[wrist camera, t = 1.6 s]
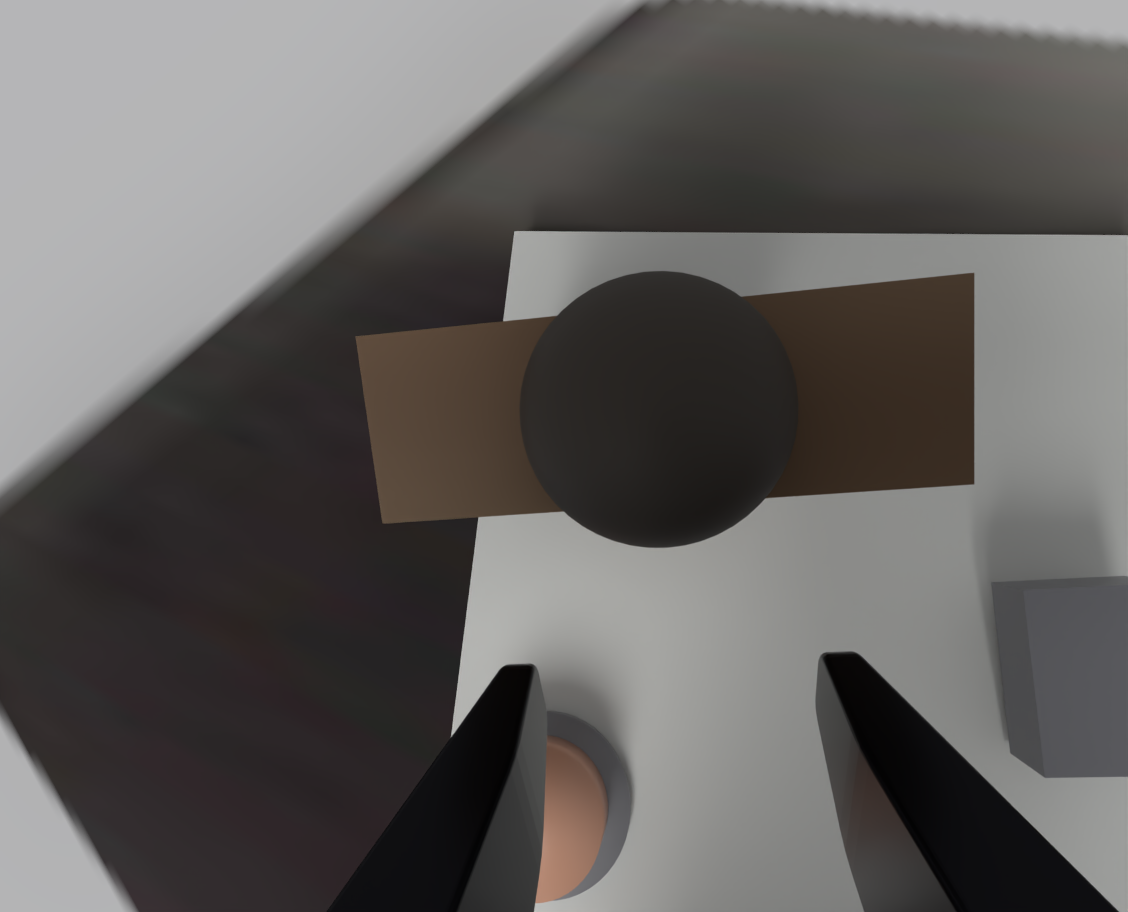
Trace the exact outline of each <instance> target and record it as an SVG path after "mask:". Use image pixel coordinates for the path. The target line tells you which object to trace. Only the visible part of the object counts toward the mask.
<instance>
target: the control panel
mask: <svg viewBox="0 0 1128 912" xmlns="http://www.w3.org/2000/svg"><path fill="white" fill-rule="evenodd" d="M649 271H671V272H682V273H687V274H691V275H695V276H700V277H703V278H705V279H708V280H711V281H713V282H716V283H719V284H721V285H722V286H724V287H726V288H728V289H730V290H732V291H733V292H735V293H737V294H738V295H739V296H741V297H743V296H753V295H762V294H772V293H782V292H791V291H801V290H811V289H820V288H830V287H840V286H849V285H859V284H869V283H878V282H888V281H898V280H907V279H917V278H927V277H936V276H946V275H956V274H965V273H974V485H959V486H944V487H929V488H914V489H898V490H883V491H868V492H853V493H838V494H823V495H808V496H792V497H777V498H765V499H764V500H763V502H762V503H761V504H760V505H759V506H758V507H757V508H756V509H755V510H753V511H752V512H751V513H750V514H749V515H748V516H747V517H745V518H744V519H743V520H741V521H740V522H739V523H737V524H736V525H734V526H733V527H731V528H729V529H727V530H726V531H724V532H722V533H720V534H718V535H716V536H713V537H711V538H708V539H706V540H703V541H701V542H697V543H693V544H689V545H685V546H678V547H669V548H646V547H638V546H631V545H627V544H623V543H619V542H615V541H612V540H610V539H607V538H605V537H602V536H600V535H597V534H596V533H594V532H592V531H590V530H588V529H587V528H585V527H583V526H581V525H580V524H579V523H577V522H576V521H575V520H573V519H572V518H570V517H569V516H568V515H567V514H566V513H565V512H550V513H535V514H520V515H505V516H490V517H479V519H478V527H477V535H476V543H475V551H474V559H473V566H472V574H471V582H470V590H469V598H468V606H467V614H466V622H465V630H464V638H463V646H462V654H461V662H460V670H459V678H458V686H457V694H456V702H455V710H454V718H453V726H452V734H451V737H452V735H453V734H454V733H455V731H456V730H457V728H458V727H459V726H460V724H461V723H462V721H463V720H464V719H465V717H466V716H467V714H468V713H469V712H470V710H471V709H472V707H473V706H474V705H475V703H476V702H477V700H478V699H479V698H480V696H481V695H482V693H483V692H484V691H485V689H486V688H487V686H488V685H489V684H490V682H491V681H492V679H493V678H494V677H495V675H496V674H497V672H498V671H499V670H500V668H502V667H503V666H505V665H507V664H528V663H531V664H534V665H535V666H536V667H537V669H538V672H539V676H540V681H541V686H542V690H543V695H544V699H545V704H546V710H547V735H550V736H555V737H559V738H562V739H565V740H567V741H569V742H571V743H573V744H574V745H576V746H577V747H579V748H580V749H581V750H583V751H584V752H585V753H586V754H587V755H588V756H589V757H590V759H591V760H592V761H593V762H594V764H595V765H596V767H597V768H598V770H599V772H600V774H601V776H602V779H603V782H604V784H605V788H606V792H607V799H608V818H607V824H606V828H605V832H604V835H603V839H602V842H601V845H600V849H599V852H598V855H597V857H596V860H595V862H594V864H593V866H592V868H591V870H590V872H589V873H588V874H587V876H586V877H585V878H584V880H583V881H582V882H581V883H580V884H579V885H578V886H577V887H576V888H574V889H573V890H572V891H571V892H569V893H568V894H566V895H564V896H562V897H560V898H558V899H555V900H553V901H549V902H544V903H535V908H534V912H864V910H863V907H862V904H861V901H860V898H859V894H858V891H857V888H856V885H855V882H854V879H853V876H852V873H851V869H850V866H849V863H848V859H847V856H846V852H845V848H844V844H843V840H842V836H841V831H840V827H839V822H838V817H837V812H836V808H835V803H834V798H833V793H832V788H831V784H830V779H829V774H828V769H827V764H826V760H825V755H824V750H823V745H822V740H821V736H820V731H819V726H818V721H817V715H816V707H815V696H816V683H817V670H818V660H819V657H820V655H821V654H822V653H825V652H842V651H853V652H856V653H858V654H860V655H861V656H862V657H863V658H864V659H865V660H866V661H867V662H868V663H869V664H870V665H871V666H872V667H873V668H874V669H875V670H876V671H877V672H878V673H879V674H880V675H881V676H882V677H883V678H884V679H885V680H886V681H887V682H888V683H889V684H890V685H891V686H892V687H893V688H895V689H896V690H897V691H898V692H899V693H900V694H901V695H902V696H903V697H904V698H905V699H906V700H907V701H908V702H909V703H910V704H911V705H912V706H913V707H914V708H915V709H916V710H917V711H918V712H919V713H920V714H921V715H922V716H923V717H924V718H925V719H926V720H927V721H928V722H929V723H930V724H931V725H932V726H933V727H934V728H935V729H936V730H937V731H938V732H939V733H940V734H941V735H942V736H943V737H944V738H945V739H946V740H947V741H948V742H949V743H950V744H951V745H952V746H953V747H954V748H955V749H956V750H957V751H958V752H959V753H960V754H961V755H962V756H963V757H964V758H965V759H966V760H967V761H968V762H969V763H970V764H971V765H972V766H973V767H974V768H975V769H976V770H977V771H978V772H979V773H980V774H981V775H982V776H983V777H984V778H985V779H986V780H987V781H988V782H989V783H990V784H991V785H992V786H993V787H994V788H995V789H996V790H997V791H998V792H999V793H1000V794H1001V795H1002V796H1003V797H1004V798H1005V799H1006V800H1007V801H1008V802H1009V803H1010V804H1011V805H1012V806H1013V807H1014V808H1015V809H1016V810H1017V811H1018V812H1019V813H1020V814H1021V815H1022V816H1023V817H1024V818H1025V819H1026V820H1027V821H1028V822H1029V823H1030V824H1031V825H1032V826H1033V827H1034V828H1035V829H1036V830H1037V831H1038V832H1039V833H1040V834H1041V835H1042V836H1043V837H1044V838H1045V839H1046V840H1047V841H1048V842H1049V843H1050V844H1051V845H1053V846H1054V847H1055V848H1056V849H1057V850H1058V851H1059V852H1060V853H1061V854H1062V855H1063V856H1064V857H1065V858H1066V859H1067V860H1068V861H1069V862H1070V863H1071V864H1072V865H1073V866H1074V867H1075V868H1076V869H1077V870H1078V871H1079V872H1080V873H1081V874H1082V875H1083V876H1084V877H1085V878H1086V879H1087V880H1088V881H1089V882H1090V883H1091V884H1092V885H1093V886H1094V887H1095V888H1096V889H1097V890H1098V891H1099V892H1100V893H1101V894H1102V895H1103V896H1104V897H1105V898H1106V899H1107V900H1108V901H1109V902H1110V903H1111V904H1112V905H1113V906H1114V907H1115V908H1116V909H1117V910H1118V911H1119V912H1128V777H1074V778H1044V777H1043V776H1042V775H1040V774H1039V773H1037V772H1036V771H1034V770H1033V769H1032V768H1030V767H1029V766H1027V765H1026V764H1025V763H1023V762H1022V761H1020V760H1019V759H1018V758H1016V757H1015V756H1013V755H1012V754H1011V753H1010V746H1009V737H1008V729H1007V720H1006V711H1005V702H1004V693H1003V684H1002V675H1001V666H1000V658H999V649H998V640H997V631H996V622H995V613H994V604H993V595H992V586H991V582H1006V581H1026V580H1047V579H1068V578H1088V577H1109V576H1128V235H1013V234H862V233H710V232H558V231H515V232H514V239H513V247H512V255H511V263H510V271H509V279H508V287H507V295H506V303H505V311H504V319H503V321H511V320H521V319H531V318H540V317H550V316H557V315H558V314H559V313H560V312H561V311H562V310H563V309H564V308H566V307H567V306H568V305H569V304H570V303H571V302H573V301H574V300H575V299H576V298H578V297H579V296H581V295H582V294H584V293H586V292H587V291H589V290H590V289H592V288H594V287H596V286H598V285H600V284H602V283H605V282H607V281H609V280H612V279H615V278H618V277H622V276H625V275H629V274H635V273H640V272H649Z"/></svg>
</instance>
